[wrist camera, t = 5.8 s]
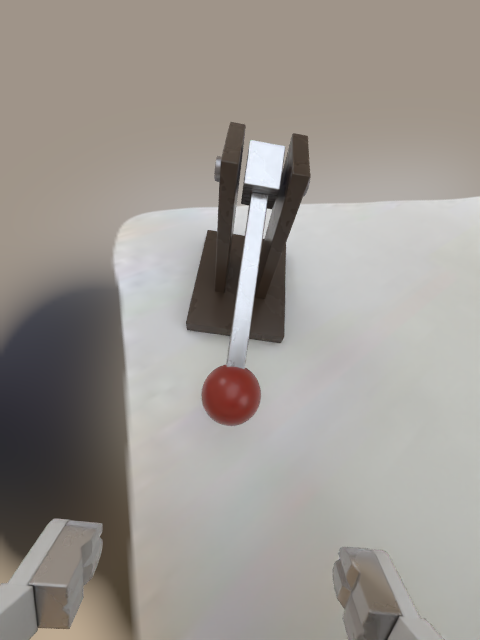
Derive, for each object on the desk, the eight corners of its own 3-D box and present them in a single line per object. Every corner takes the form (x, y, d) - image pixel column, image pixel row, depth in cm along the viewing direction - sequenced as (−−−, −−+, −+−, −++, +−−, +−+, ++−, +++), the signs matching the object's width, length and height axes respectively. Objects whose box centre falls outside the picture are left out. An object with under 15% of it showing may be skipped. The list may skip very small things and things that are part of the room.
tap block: (280, 343, 24) (353, 230, 12) (186, 329, 24) (166, 199, 12) (282, 251, 30) (333, 113, 18) (207, 239, 29) (208, 89, 17)
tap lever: (253, 417, 17) (260, 439, 14) (200, 411, 17) (193, 431, 13) (285, 178, 18) (300, 140, 15) (236, 169, 18) (239, 129, 15)
